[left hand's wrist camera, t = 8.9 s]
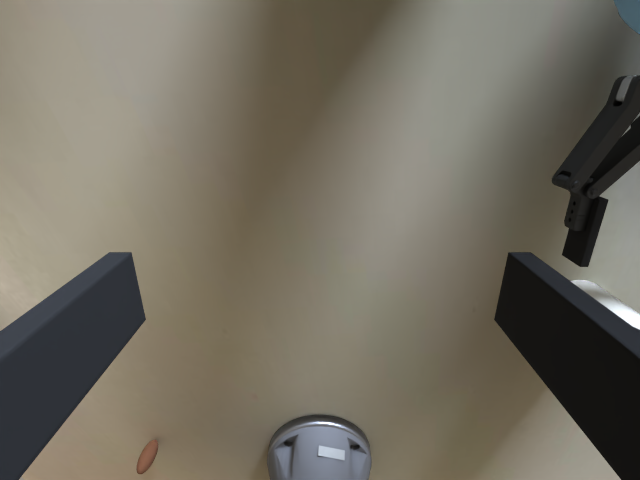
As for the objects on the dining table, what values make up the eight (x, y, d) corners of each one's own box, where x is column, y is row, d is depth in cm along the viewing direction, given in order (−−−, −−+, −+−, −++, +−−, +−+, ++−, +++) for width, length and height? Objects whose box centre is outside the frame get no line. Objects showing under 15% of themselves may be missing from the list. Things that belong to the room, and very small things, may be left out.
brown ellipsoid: (164, 439, 53) (149, 472, 48) (158, 447, 53) (142, 480, 49) (152, 433, 52) (136, 466, 48) (146, 441, 53) (129, 474, 48)
